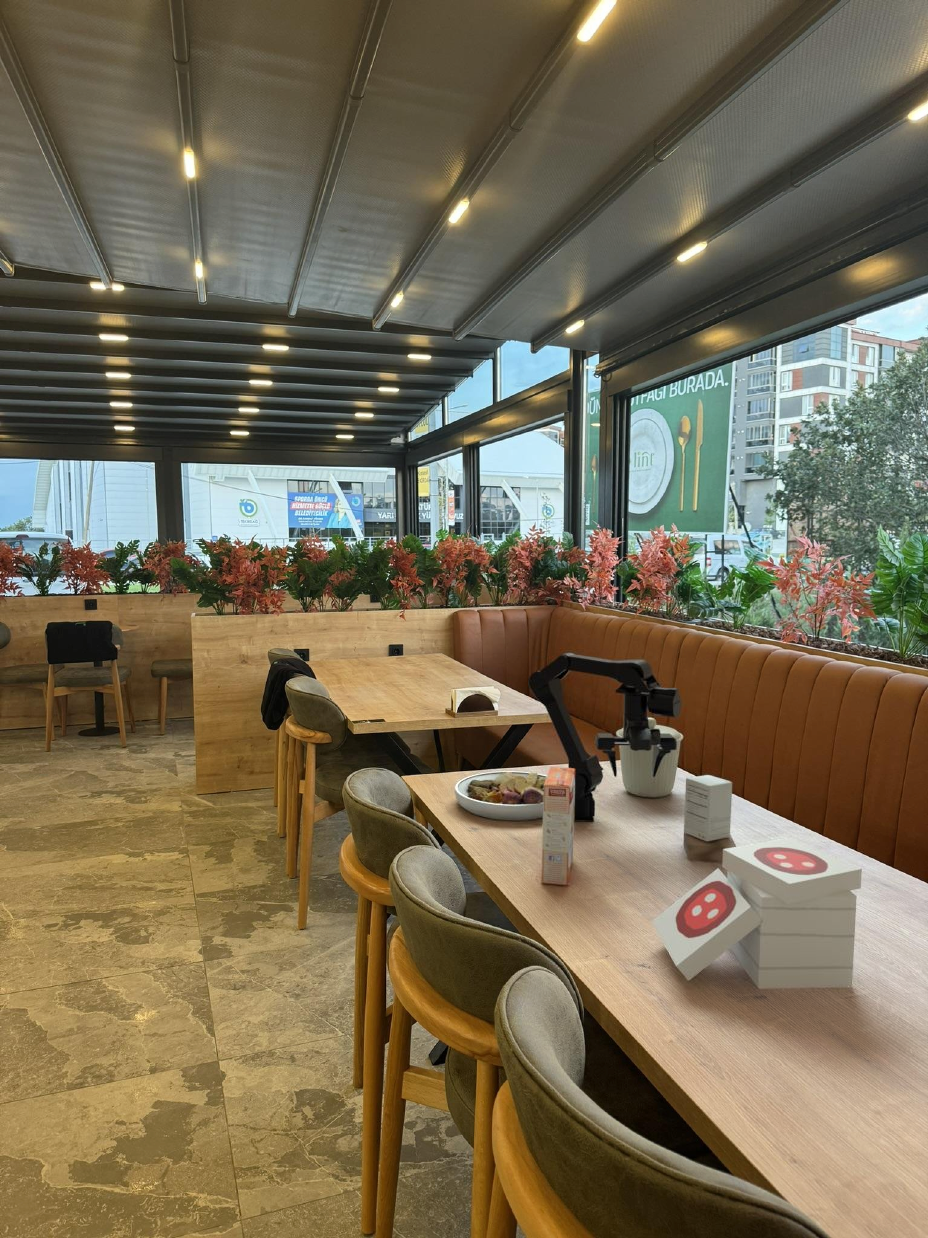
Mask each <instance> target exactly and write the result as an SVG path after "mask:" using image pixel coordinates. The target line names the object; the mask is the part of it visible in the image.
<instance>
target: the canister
mask: <svg viewBox="0 0 928 1238" xmlns="http://www.w3.org/2000/svg"><path fill="white" fill-rule="evenodd" d="M648 722H649V728H650V729H659V730H660V733H670V734H671V735H672V736H673V737H674V738H675V739H676V741H677V749H676V750H671V753H667V754H666V755H665V756H664V757H663V759H662V760H661V763H660V765H659V767H658V770H657V773H656V775H655V777H653V776H652V761H653V747H654V745H652V748H651V750H650V751H646V750H638V751H634V750H632V749H631V748H630V745H618V748H619V757H620V758H619V759H620V769H621V770H620V771H621V778H622V783H623V787H624V788H625V790H626V791H627V792H628V793H630V794H631V795H634V796H637V797H643V798H663V797H665V796H668V795H670V794H671V792H672V791H673V789H674V786H675V782H676V781H675V780H676V777H677V776H676V775H677V769H678V763H679V758H680V757H679V755H680V750H681V742H682V740H683V739H684V735H683V734H682V733H681V732H679V731H677V730H676V729H675V728H672V727H670V726H665V725H660V724H657V720H656V719H655V718H654V717H648ZM615 735H616V737H623V727H622V728H621V729H617V731H616V732H615ZM627 742H629V741H627Z"/></svg>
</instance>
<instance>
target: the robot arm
mask: <svg viewBox="0 0 928 1238" xmlns="http://www.w3.org/2000/svg"><path fill="white" fill-rule="evenodd" d="M572 671H573V672H577V673H582V674H583V673H584V674H590V675H595V676H602V677H607V678H611V679H612V680H614V681H616V682H617V683H620V684H621V685H619V687H618V688H617V689H615V693H616V694H623V715H622V716H623V717H622V718H623V720H622V721H623V725H622V726H623V727H622V728H623V737H618V736H615V737H614V736H613V734H612V732H610V733H608V732H606V733H605V732H603V733H602V732H601V733H600V732H599V733H596V734H595V735H594V746H595V748H596V749H597V750H599V751H601V752H602V753H603V754H606V755H607V758H608V761H609V764H610V767H611V770H612V773H613V776H614V777H615V778H616V777H617V775H618V774H617V760H616V755H617V751H616V750H615V749H614V748H615V746H619V745H630V748H631V749H632V750H634V751H638V750H646V751H650V750H651V748H652V745H654V747H653V761H652V776H653V777H655V775H656V773H657V770H658V767H659V765H660V763H661V760H662V759H663V757H664V756H665V755H666V754H667V753H671V750H676V749H677V741H676V739H675V738H674V737H673V736H672V735H671V734H670V733H660V730H659V729H650V728H649V722H648V718H649V713H651V715H652V716H659V717H667V718H673V719H678V718H679V717H680V714H681V711H682V705H683V704H682V700H681V695H680V694H679V688H676V687H671V688H668V687H661V684H660V683H659V681H658V680H657V678H656V677H655V675H654V673H653V669H652V667H651V665H650V663H649V662H648V661H647V660H645V659H625V660H624V659H623V660H613V659H605V658H600V657H593V656H588V655H581V654H575V653H572V652H567V653H562V654H560V655H558V656H557V658H555V659H554V660H553V661H552V662H550V663H549V664H547V665H546V666H544V667H543V668H542V669H541V670H537V671H534V672H533V673H531V674H530V676H529V679H528V682H527V683H528V686H529V689H530V691H531V692H532V694H533V695H534V697H535V698H536V700H538V701H539V703H541V704H542V705H543V706H544V707H545V710H546V711H547V714H548V716H549V718H550V720H551V723H552V725H553V727H554V730H555V732H556V734H557V737H558V739H559V740H560V743H561V745H562V747H563V750H564V752H565V755H566V757H567V762H568V763H567V764H568V767H567V768H574V769H575V807H574V822H594V821H595V819H594V817H595V815H596V800H595V799H594V797H593V792H595V791H596V788H597V786H599V785H600V784H601V783H602V781H603V778H604V773H603V770H604V768H603V767H602V766H601V763H600V761H599V757H598V756H597V754H594V755H593V756H591V755H590V754H589V753H588V752H587V751H586V749H585V747H584V745H583V743H582V740H581V738H580V736H579V734H578V731H577V729H576V725H575V724H574V722H573V719H572V717H571V715H570V713H569V710H568V709H567V706H566V704H565V702H564V699H563V696H564V695H563V692H564V691H563V684H562V679H564V678H565V677H566V676H567V675H568V674H569V673H570V672H572ZM627 741H629V742H627Z"/></svg>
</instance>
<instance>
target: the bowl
mask: <svg viewBox="0 0 928 1238" xmlns="http://www.w3.org/2000/svg"><path fill="white" fill-rule="evenodd" d="M546 777H547V775H546V774H541V773H538V772H526V771H516V770H515V771H510V770H509V771H507V770H502V771H500V770H499V771H489V772H483V773H477V774H473V775H469V776H466V777H463V779H461V780H459V781H457V783H455V786H454V794H455V798H456V800H457V802H458V804H459V805H460V806H461V807H462V808H464V809H465V810H466V811H467V812H469V813H471V814H473V815H476V816H480V817H483V818H487V819H493V820H501V821H529V820H536V819H537V820H538V819H540V818H543V791H544V783H545V780H546Z"/></svg>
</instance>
